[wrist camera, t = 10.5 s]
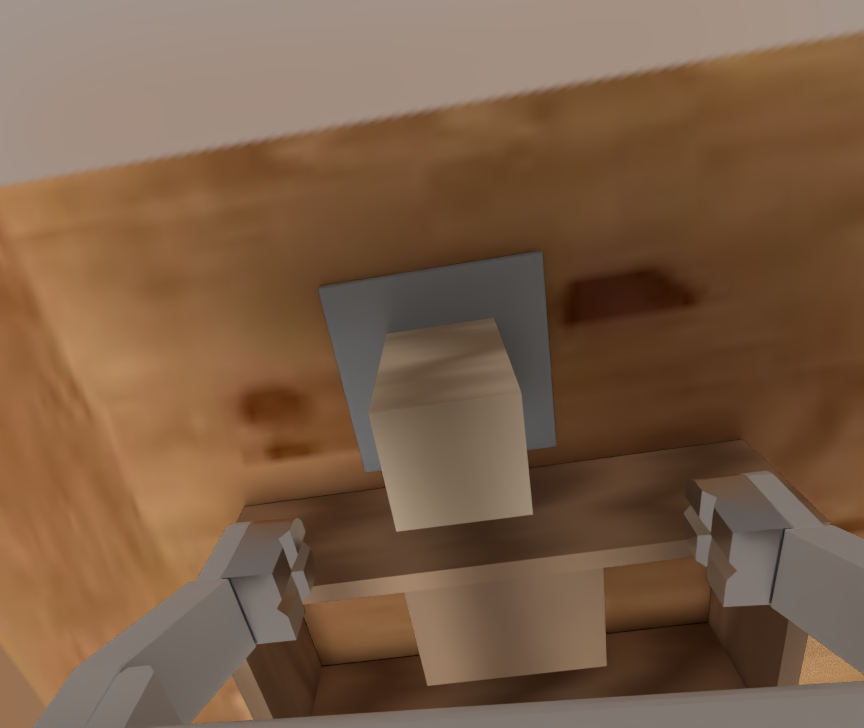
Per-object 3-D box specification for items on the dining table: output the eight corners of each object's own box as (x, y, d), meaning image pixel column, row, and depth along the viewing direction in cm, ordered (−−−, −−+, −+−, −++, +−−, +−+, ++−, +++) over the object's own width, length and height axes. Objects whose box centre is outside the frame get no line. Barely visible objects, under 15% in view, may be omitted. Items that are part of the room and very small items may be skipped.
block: (494, 317, 18) (521, 391, 13) (504, 412, 20) (533, 514, 14) (386, 333, 19) (368, 413, 13) (405, 426, 20) (396, 531, 15)
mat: (540, 250, 18) (542, 253, 17) (554, 441, 21) (556, 446, 21) (320, 285, 18) (317, 288, 18) (366, 466, 21) (365, 472, 21)
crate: (743, 439, 21) (830, 522, 16) (723, 631, 26) (787, 738, 21) (244, 507, 22) (196, 600, 18) (310, 678, 27) (286, 787, 22)
